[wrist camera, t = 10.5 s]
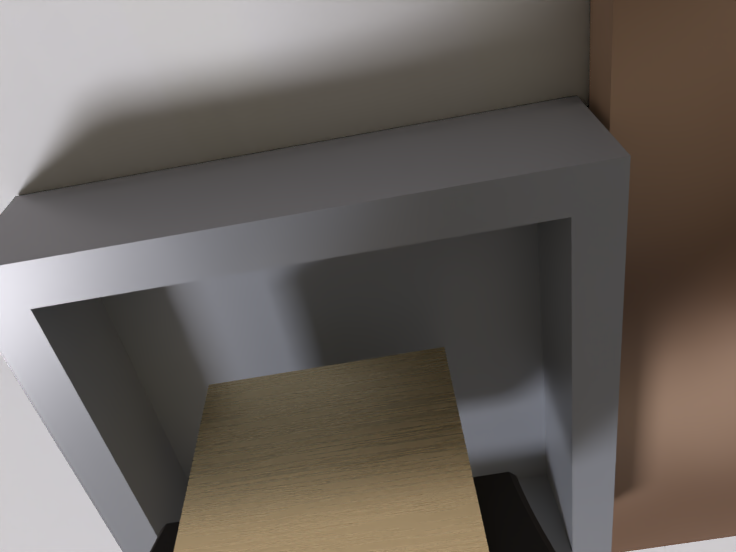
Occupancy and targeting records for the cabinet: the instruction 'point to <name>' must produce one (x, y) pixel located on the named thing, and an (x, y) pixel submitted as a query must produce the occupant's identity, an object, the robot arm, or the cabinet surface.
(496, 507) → the robot arm
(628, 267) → the crank base
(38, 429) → the cabinet surface
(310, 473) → the stop block
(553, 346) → the tray
